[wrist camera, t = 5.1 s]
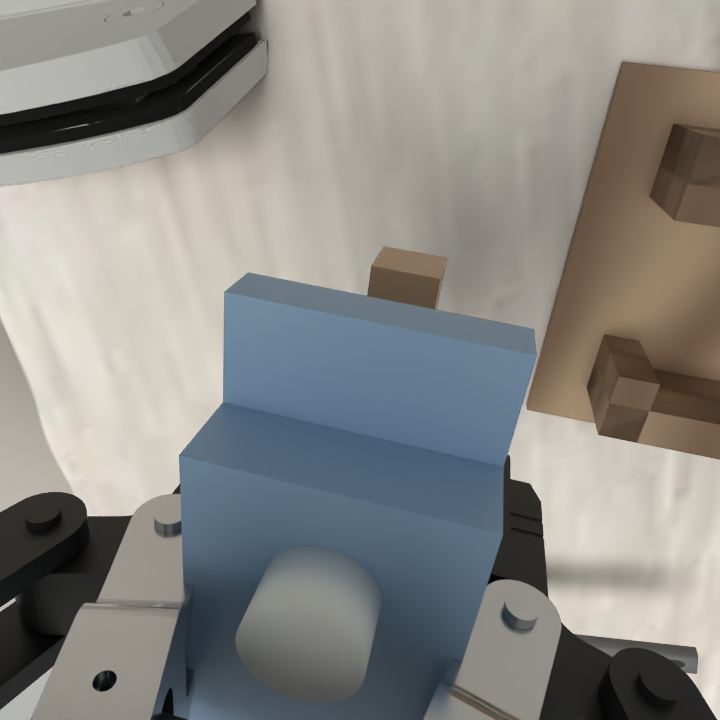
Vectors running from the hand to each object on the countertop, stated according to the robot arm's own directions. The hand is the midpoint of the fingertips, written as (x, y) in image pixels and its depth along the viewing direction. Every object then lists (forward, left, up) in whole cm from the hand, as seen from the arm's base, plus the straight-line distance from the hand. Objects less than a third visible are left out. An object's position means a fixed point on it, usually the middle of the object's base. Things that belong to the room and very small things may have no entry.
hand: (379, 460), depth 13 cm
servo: (0, 0, -1) cm, 1 cm away
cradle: (-1, +12, -15) cm, 19 cm away
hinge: (-6, -17, -16) cm, 24 cm away
